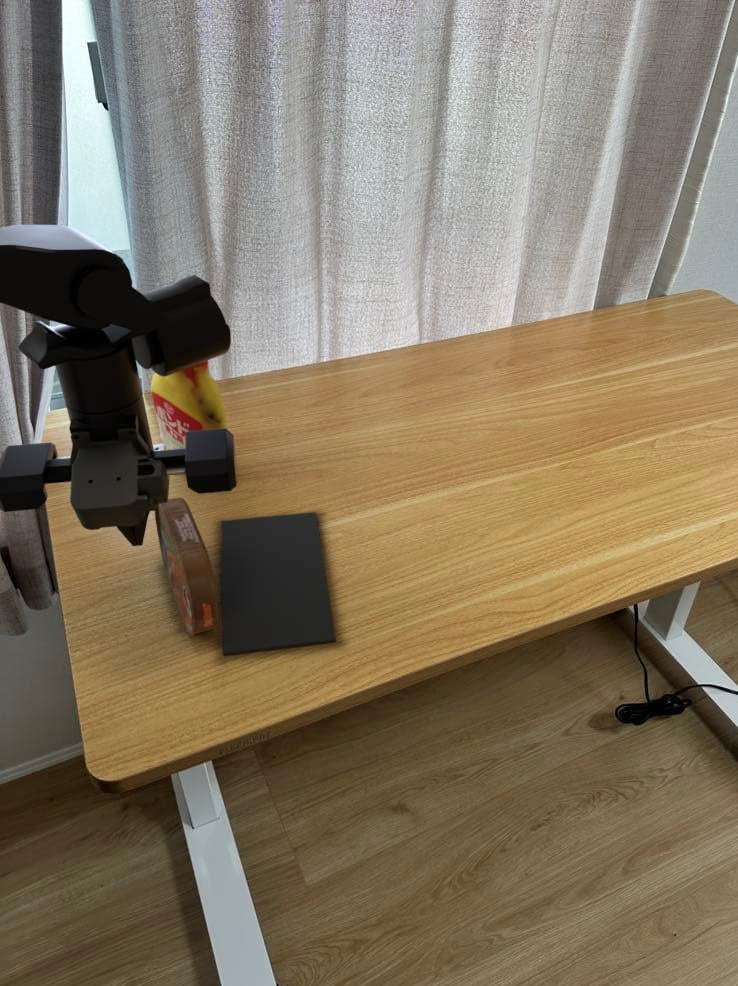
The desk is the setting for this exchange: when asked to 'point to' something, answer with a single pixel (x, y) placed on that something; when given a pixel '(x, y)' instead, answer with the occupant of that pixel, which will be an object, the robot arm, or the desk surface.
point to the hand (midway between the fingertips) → (138, 542)
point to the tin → (187, 565)
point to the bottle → (187, 404)
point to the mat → (274, 584)
